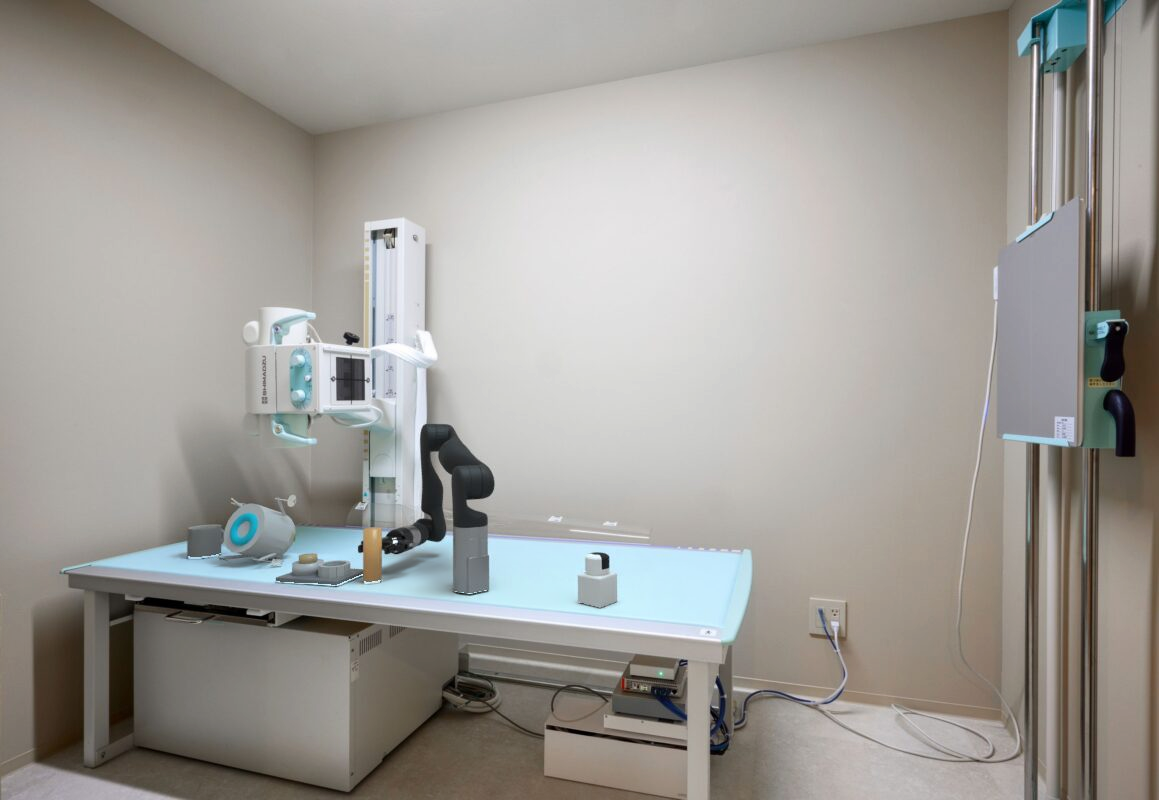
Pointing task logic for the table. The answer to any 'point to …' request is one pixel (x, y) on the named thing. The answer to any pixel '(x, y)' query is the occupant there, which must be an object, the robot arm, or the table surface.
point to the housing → (319, 571)
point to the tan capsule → (372, 554)
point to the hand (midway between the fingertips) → (372, 550)
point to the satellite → (259, 532)
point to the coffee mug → (204, 540)
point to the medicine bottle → (597, 581)
